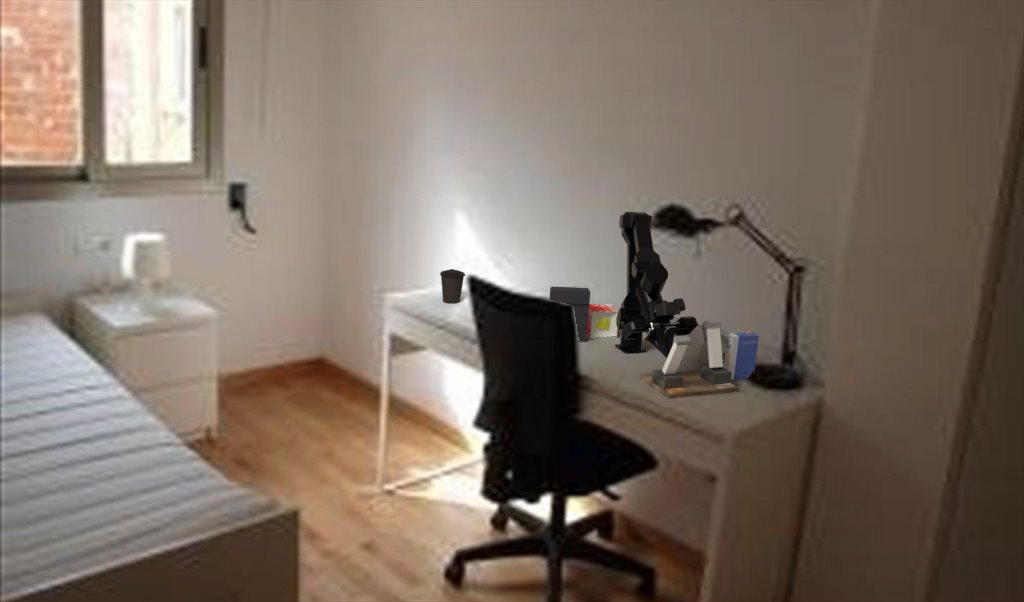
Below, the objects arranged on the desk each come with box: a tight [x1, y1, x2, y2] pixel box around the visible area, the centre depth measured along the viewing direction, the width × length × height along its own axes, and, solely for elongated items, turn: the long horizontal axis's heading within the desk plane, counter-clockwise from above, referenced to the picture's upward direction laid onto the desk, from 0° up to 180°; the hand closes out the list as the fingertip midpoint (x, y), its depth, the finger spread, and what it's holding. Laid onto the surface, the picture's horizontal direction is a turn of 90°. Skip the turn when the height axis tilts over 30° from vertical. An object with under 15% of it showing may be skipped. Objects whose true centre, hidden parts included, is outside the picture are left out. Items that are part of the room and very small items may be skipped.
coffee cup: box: [439, 268, 466, 305], centre depth 300 cm, size 8×8×10 cm
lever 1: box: [662, 335, 692, 374], centre depth 230 cm, size 2×4×11 cm, turn 113°
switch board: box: [639, 365, 740, 399], centre depth 238 cm, size 14×20×4 cm
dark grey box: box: [548, 285, 591, 343], centre depth 268 cm, size 11×4×15 cm, turn 92°
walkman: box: [724, 331, 760, 380], centre depth 245 cm, size 8×3×12 cm, turn 107°
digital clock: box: [699, 320, 734, 368], centre depth 254 cm, size 16×9×11 cm, turn 13°
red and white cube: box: [587, 303, 619, 339], centre depth 276 cm, size 8×8×8 cm
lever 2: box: [704, 321, 723, 368], centre depth 240 cm, size 2×4×11 cm, turn 111°
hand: (670, 358), depth 233 cm, fingers closed
